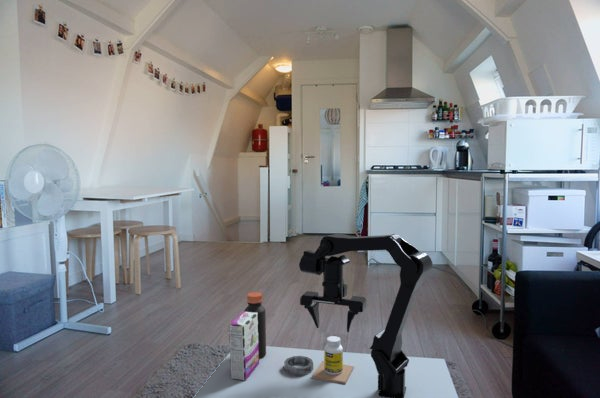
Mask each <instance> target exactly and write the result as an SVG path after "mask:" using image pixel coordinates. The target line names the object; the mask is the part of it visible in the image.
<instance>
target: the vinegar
mask: <svg viewBox="0 0 600 398" xmlns="http://www.w3.org/2000/svg"><path fill="white" fill-rule="evenodd" d="M246 302H247V303H246V304H247V306H246V307H245V308H244V311H243V312H256V313H258V340H259V360H260V359H263V358H264V357H265V356H266V354H267V330H266V328H267V327H266V319H267V318H266V315H267V314H266V308H265V307H264V306H263V305H262V304H263V293H262V292H256V291H255V292H249V293H247V295H246Z"/></svg>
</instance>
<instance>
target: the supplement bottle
mask: <svg viewBox="0 0 600 398" xmlns="http://www.w3.org/2000/svg"><path fill="white" fill-rule="evenodd" d="M343 350H344V348H343V346H342V344H341V337H339V336H335V335H331V336H327V338H326V345H325V346H324V369H325V372H326V373H328V374H331V375H337V374H340V373H342V371H343V364H344V362H343V361H344V360H343V359H344V351H343Z"/></svg>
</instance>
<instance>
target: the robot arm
mask: <svg viewBox="0 0 600 398" xmlns="http://www.w3.org/2000/svg"><path fill="white" fill-rule="evenodd" d="M319 242H320V243H319V245H318V247H317V249H316V250H315V251H312V250H307V249H306V250H303V255H302V256H301V258H300V261H299V264H298V266H299V267H298V268H299V271H301V272H302V273H305V274H311V275H315V276H320V275H322V280H323V281H322V283H321V286H322V288H323V289H322V292H323V294H322V295H320V294H319V292H318V291H309V290H307V291H305V292H304V293H303V294H302V295H301V296H300V297H299V298H300V299H299V305H300V306H304V309H306V310H307V311H308V313H309V315H310V316H311V319H312V320H313V322H314V325H315V327H316V329H319V328H320V315H319V314H320V313H319V308H320V307H319V306H320V304H327V305H336V306H343V307H344V306H345V307H348V311H347V315H346V316H347V317H346V332H347V333H350V331H351V328H352V324H353V321H354V319H355V316H356V315H359V314H360V313H363V312H364V310H365V309H366V308H367V299H366V297H364V296H358V295H353V296H351V298H350V299H349V298H345V297H346V296H347V295H348V284H345V282H344V265H347V264H350V259H349V258H347V257H346V255H345V254H344V253H347V252H361V251H362V252H363V251H364V252H365V251H366V252H367V251H387V253H389V255H390V256H391V259H392V260H393V261H394V263H395V264H396V265H397V266H399V269H400V270H399V282H400V286H399V288H398V291H397V294H396V297H395V300H394V303H393V304H392V305H393V306H392V309H391V311H390V314H389V317H388V319H387V323H386V325H385V328H384V329H382V330H380V331H379V332H378V333H377V334H375V335H374V336H373V340H372V345H371V346H370V347H369V350H371V351H370V357H371V358H372V361H373V362H374V365H375V368H376V372H377V374H378V375H377V390H378V396H379V397H383V398H405V395H406V392H407V386H406V369H405V368H407V366H408V364H409V363H410V359H409V358H408V357H407V355H406V354H405V353H404V351H403V350H402V347H403V338H402V334H403V331H404V328H405V326H406V323H407V321H408V317H409V314H410V311H411V309H412V307H413V303H414V300H415V298H416V295H417V293H418V290H419V288H420V286H421V285H422V284H423V283H424V281H425V279H427V277H428V275H429V274H430V272H431V270H432V268H433V261H432V258H431V257H430V256H429V255H428V254H427V253H425V252H423V251H420V250H419V248H417V246H415V245H413V244H411V243H410V242H408V241H406V240H405V239H404V238H402V236H400V235H399V234H397V233H392V234H388V235H387V234H385V235H384V234H383V235H367V236H364V235H363V236H352V235H348V234H345V233H334V234H329V235H326V236H323V237H322V238H321V240H320V241H319ZM341 254H342V255H341ZM335 255H336V256H335ZM337 255H340V256H337Z"/></svg>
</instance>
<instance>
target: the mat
mask: <svg viewBox="0 0 600 398" xmlns="http://www.w3.org/2000/svg"><path fill="white" fill-rule="evenodd" d="M354 369H355V366H353V365H350V364H344V363H343V371H342V373H340V374H337V375H331V374H328V373H326V372H325V369H324V361H323V360H322V361H321V362H320V364H319V365H318V366H317V368H316V369H315V370H314V371H313V373H312V375H311V379H315V380H322V381H327V382H333V383H338V384H344V385H346V384H347V382H348V380H349V378H350V376H351V374H352V372H353V371H354Z"/></svg>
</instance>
